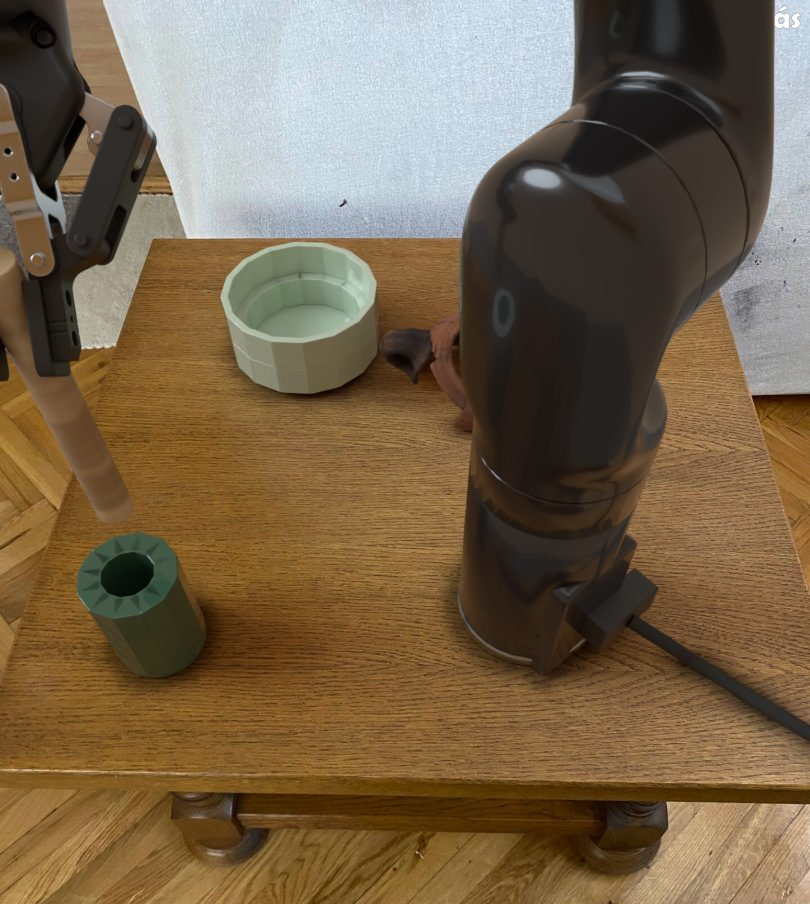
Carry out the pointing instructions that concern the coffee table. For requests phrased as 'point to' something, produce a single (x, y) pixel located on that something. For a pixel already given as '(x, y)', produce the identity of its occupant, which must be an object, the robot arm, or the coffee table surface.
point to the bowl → (302, 316)
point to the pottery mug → (415, 351)
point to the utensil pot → (142, 604)
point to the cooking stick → (61, 405)
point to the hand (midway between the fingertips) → (23, 377)
